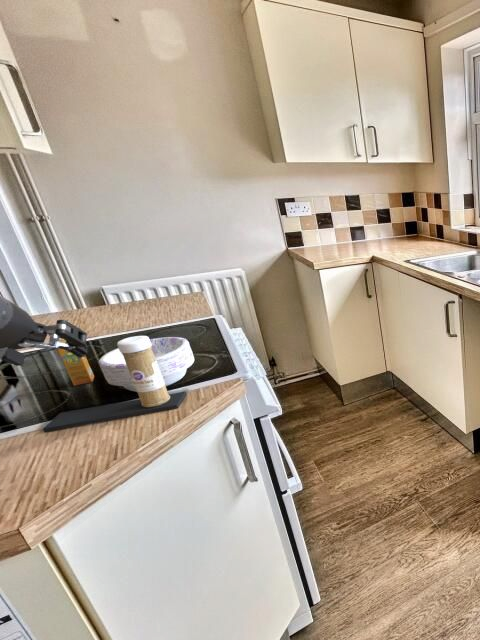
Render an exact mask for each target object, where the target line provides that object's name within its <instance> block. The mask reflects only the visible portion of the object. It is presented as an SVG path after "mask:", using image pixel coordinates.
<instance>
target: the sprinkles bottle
mask: <svg viewBox="0 0 480 640" xmlns="http://www.w3.org/2000/svg"><path fill="white" fill-rule="evenodd" d="M116 345H117V348H119V351H120V352H121V353H122V355H123V356H124V360H125V362H126V365H127V367H128V370H129V372H130V375H131V379H132V381H133V384H134V386H135V389H136V391H137V392H136V391H135V392H136V393H137V396H138V398H139V399H140V400H141V405H142V406H143V407H155V406H159V405H162V404H164V403H166V402H167V401H168V400H169V399H170V395H169V394H170V393H169V392H168V389H167V386H165V382H164V380H163V377H162V374H161V372H160V369H159V366H158V364H157V361H156V359H155V357H154V354H153V351H152V349H151V348H152V347H151V342H150V337H149V336H147V335H136V336H129V337H126V338H122V339H121V340H118V341H117V343H116Z"/></svg>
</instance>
